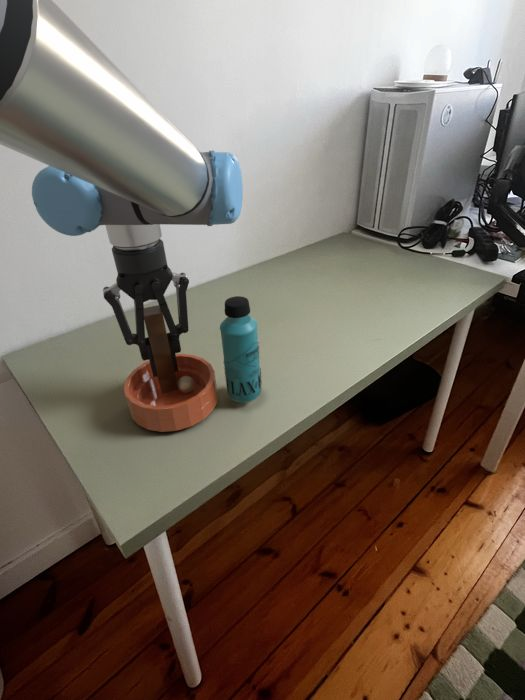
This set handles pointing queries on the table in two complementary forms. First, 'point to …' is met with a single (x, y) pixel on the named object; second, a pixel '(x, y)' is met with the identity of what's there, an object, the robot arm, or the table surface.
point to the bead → (186, 384)
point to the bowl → (171, 396)
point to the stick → (160, 348)
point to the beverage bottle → (240, 351)
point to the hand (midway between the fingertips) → (165, 369)
